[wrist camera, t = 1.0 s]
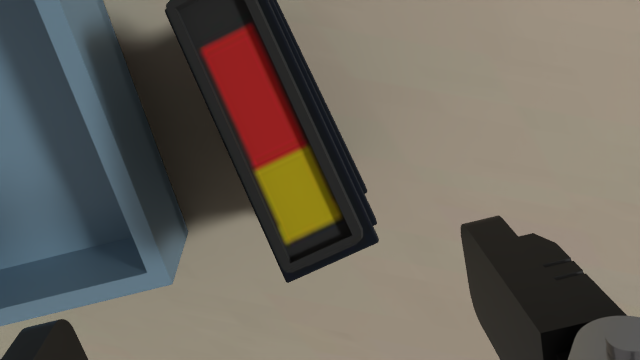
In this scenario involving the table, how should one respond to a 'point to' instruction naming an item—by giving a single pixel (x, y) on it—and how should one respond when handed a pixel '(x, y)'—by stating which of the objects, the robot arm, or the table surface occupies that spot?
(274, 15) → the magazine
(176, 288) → the table surface
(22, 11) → the bin
